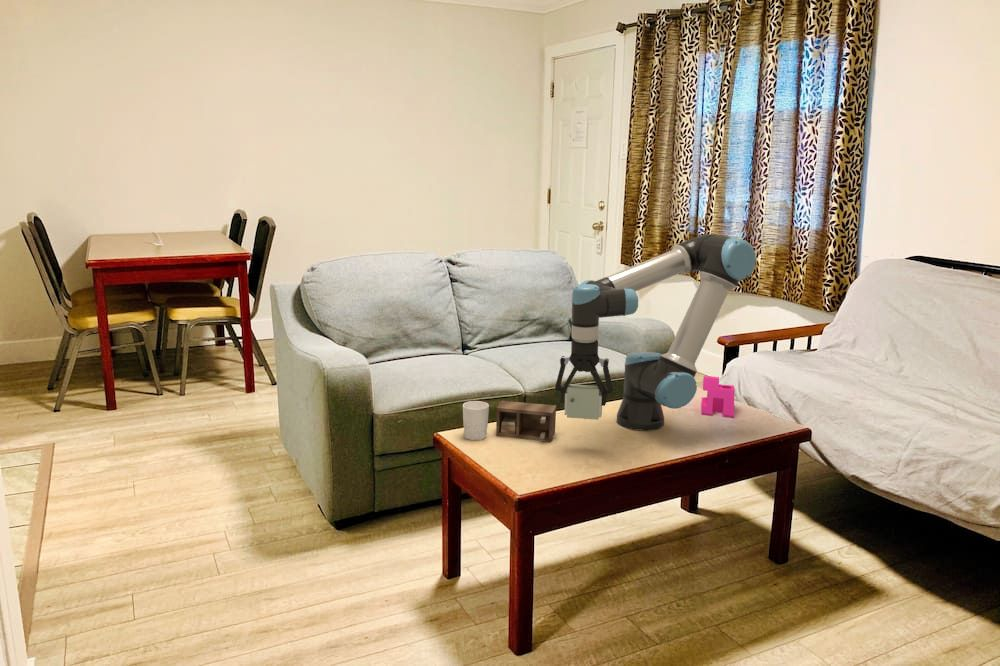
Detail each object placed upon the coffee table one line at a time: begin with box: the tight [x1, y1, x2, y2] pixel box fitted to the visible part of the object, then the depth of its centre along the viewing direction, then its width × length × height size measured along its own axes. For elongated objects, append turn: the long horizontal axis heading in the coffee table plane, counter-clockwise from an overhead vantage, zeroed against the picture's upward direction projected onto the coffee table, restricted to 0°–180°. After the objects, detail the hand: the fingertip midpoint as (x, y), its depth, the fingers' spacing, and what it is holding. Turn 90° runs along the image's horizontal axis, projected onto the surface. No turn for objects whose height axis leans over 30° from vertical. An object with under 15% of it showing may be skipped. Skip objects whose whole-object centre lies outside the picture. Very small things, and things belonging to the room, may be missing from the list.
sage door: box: [566, 383, 601, 421], centre depth 220 cm, size 9×4×9 cm, turn 77°
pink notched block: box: [700, 375, 736, 419], centre depth 258 cm, size 12×10×10 cm
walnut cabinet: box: [495, 400, 557, 442], centre depth 232 cm, size 17×10×9 cm, turn 77°
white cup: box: [462, 400, 490, 441], centre depth 231 cm, size 8×8×10 cm
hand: (583, 414), depth 221 cm, fingers closed on sage door, 9 cm apart
